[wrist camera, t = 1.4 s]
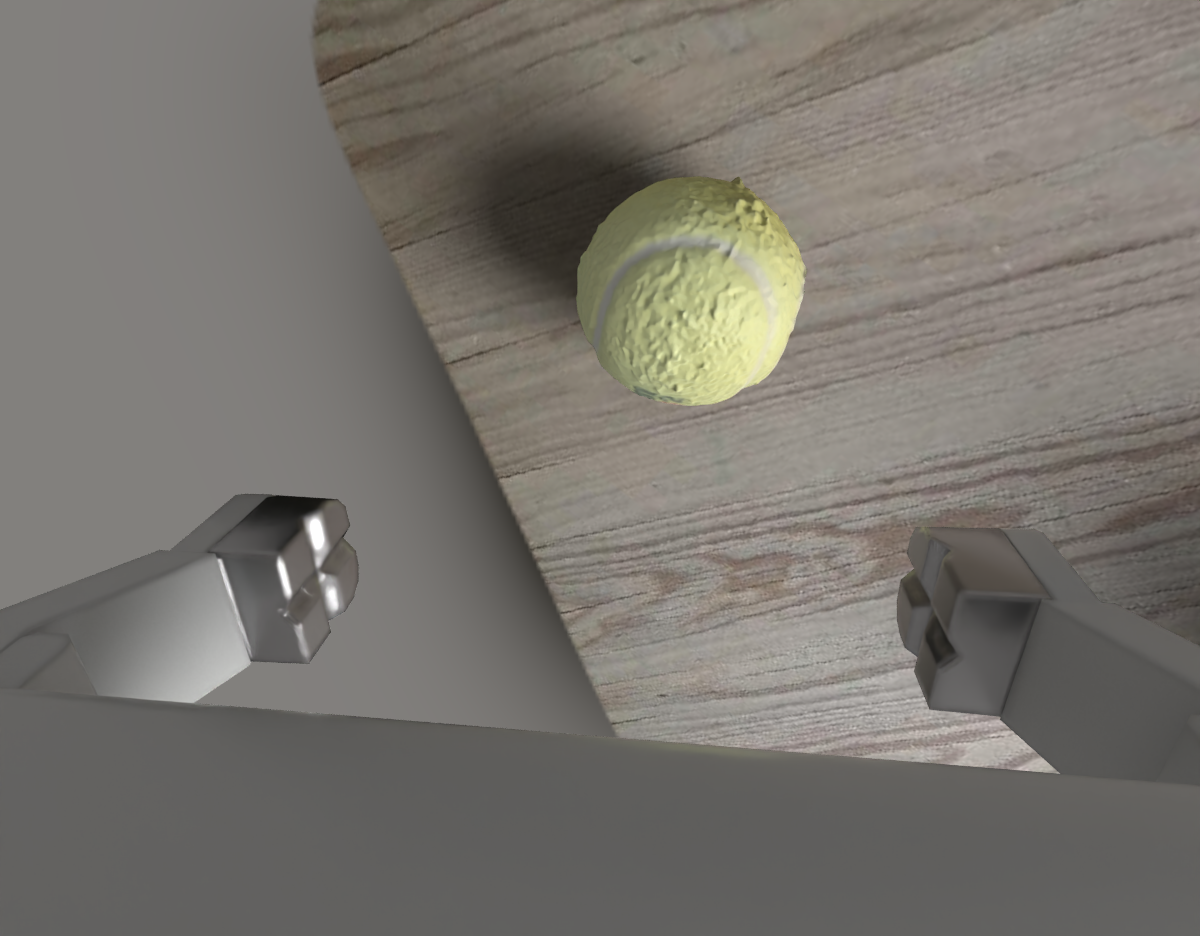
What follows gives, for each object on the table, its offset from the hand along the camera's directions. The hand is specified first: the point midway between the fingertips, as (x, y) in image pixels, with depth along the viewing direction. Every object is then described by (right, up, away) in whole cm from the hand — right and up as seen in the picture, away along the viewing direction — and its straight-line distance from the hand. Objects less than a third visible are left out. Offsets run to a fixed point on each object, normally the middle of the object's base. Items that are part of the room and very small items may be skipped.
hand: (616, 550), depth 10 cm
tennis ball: (+3, +8, +14) cm, 16 cm away
